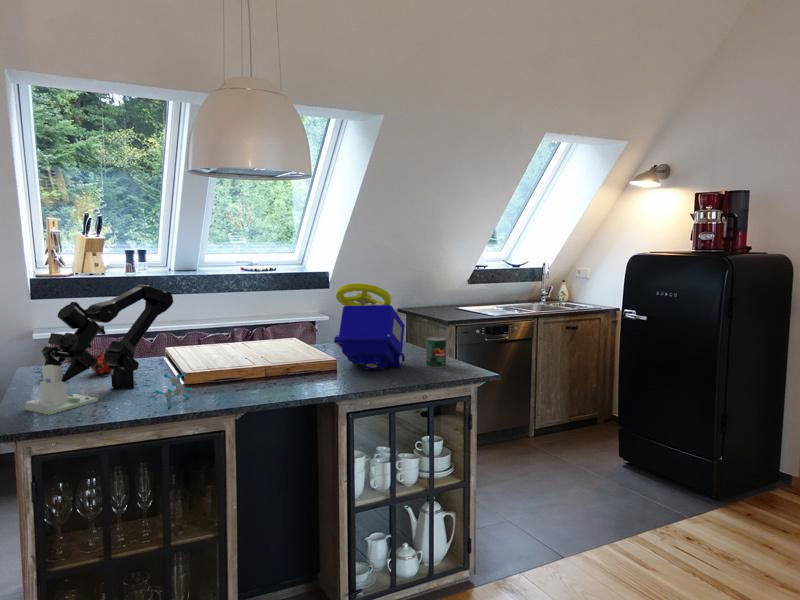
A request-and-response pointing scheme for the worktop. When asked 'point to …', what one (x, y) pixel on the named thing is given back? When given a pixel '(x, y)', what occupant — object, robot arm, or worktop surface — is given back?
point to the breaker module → (53, 385)
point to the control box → (370, 328)
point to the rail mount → (49, 408)
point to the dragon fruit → (101, 365)
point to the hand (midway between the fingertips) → (52, 379)
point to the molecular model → (177, 391)
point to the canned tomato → (436, 352)
